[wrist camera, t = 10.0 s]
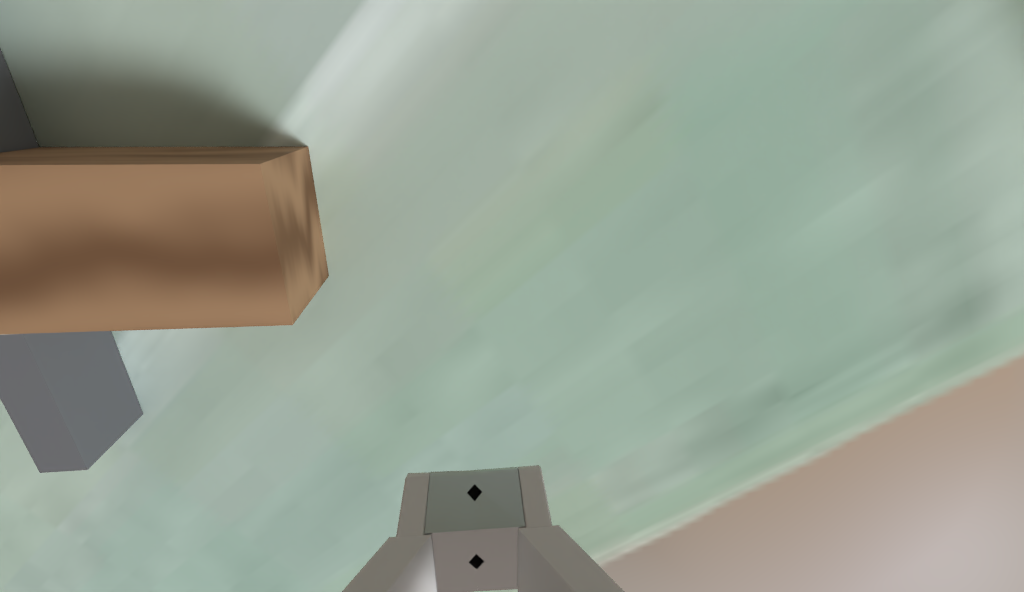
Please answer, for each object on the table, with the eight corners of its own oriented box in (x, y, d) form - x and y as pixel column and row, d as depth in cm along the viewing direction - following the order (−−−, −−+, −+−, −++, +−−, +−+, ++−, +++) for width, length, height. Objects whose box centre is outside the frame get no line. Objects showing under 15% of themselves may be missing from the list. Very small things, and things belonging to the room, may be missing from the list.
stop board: (-98, -43, 25) (-261, -81, 19) (-34, -42, 25) (-177, -79, 20) (102, 416, 37) (37, 474, 31) (143, 413, 37) (86, 471, 32)
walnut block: (44, 146, 29) (-95, 165, 22) (309, 146, 31) (260, 163, 23) (94, 280, 33) (-11, 334, 26) (329, 274, 34) (292, 324, 27)
